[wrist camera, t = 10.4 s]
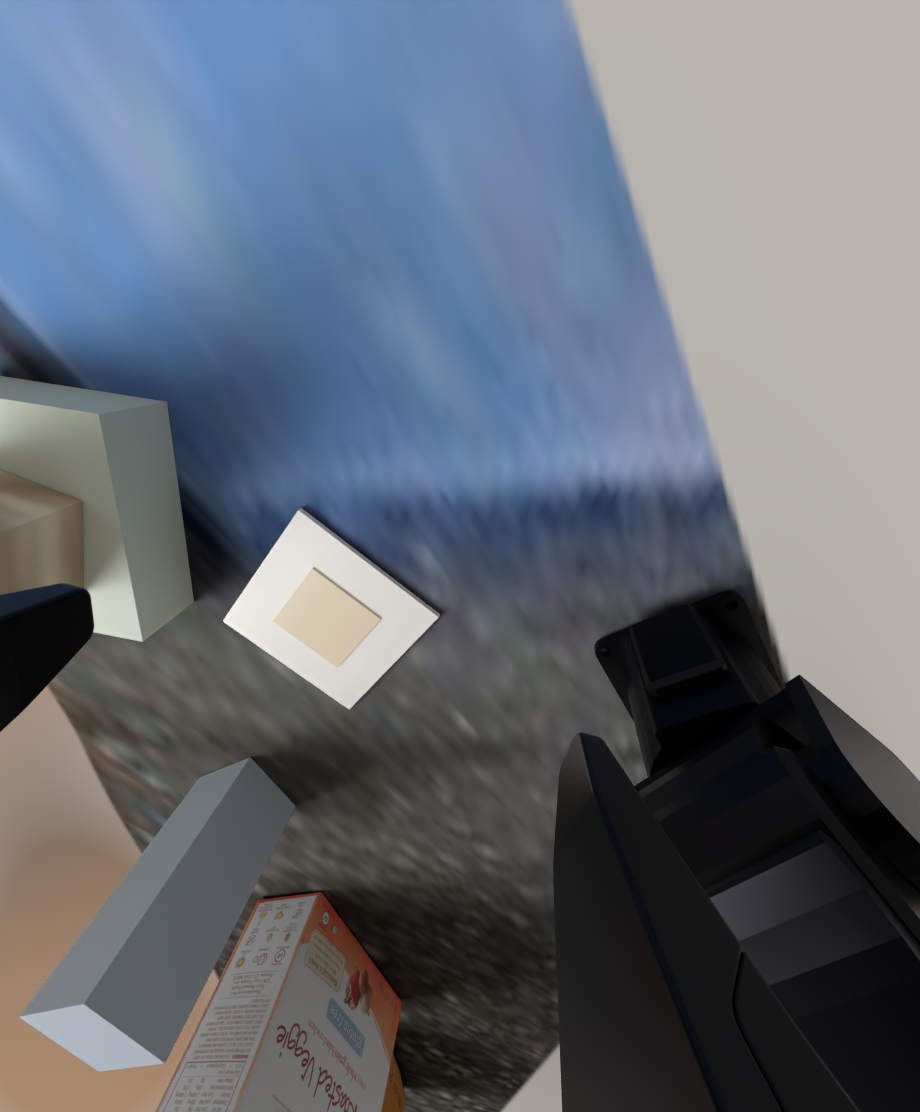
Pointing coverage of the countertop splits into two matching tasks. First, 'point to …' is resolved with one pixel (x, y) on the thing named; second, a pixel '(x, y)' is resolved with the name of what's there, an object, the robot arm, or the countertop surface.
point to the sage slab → (107, 494)
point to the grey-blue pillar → (164, 925)
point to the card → (328, 611)
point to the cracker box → (291, 1021)
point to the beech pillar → (38, 536)
